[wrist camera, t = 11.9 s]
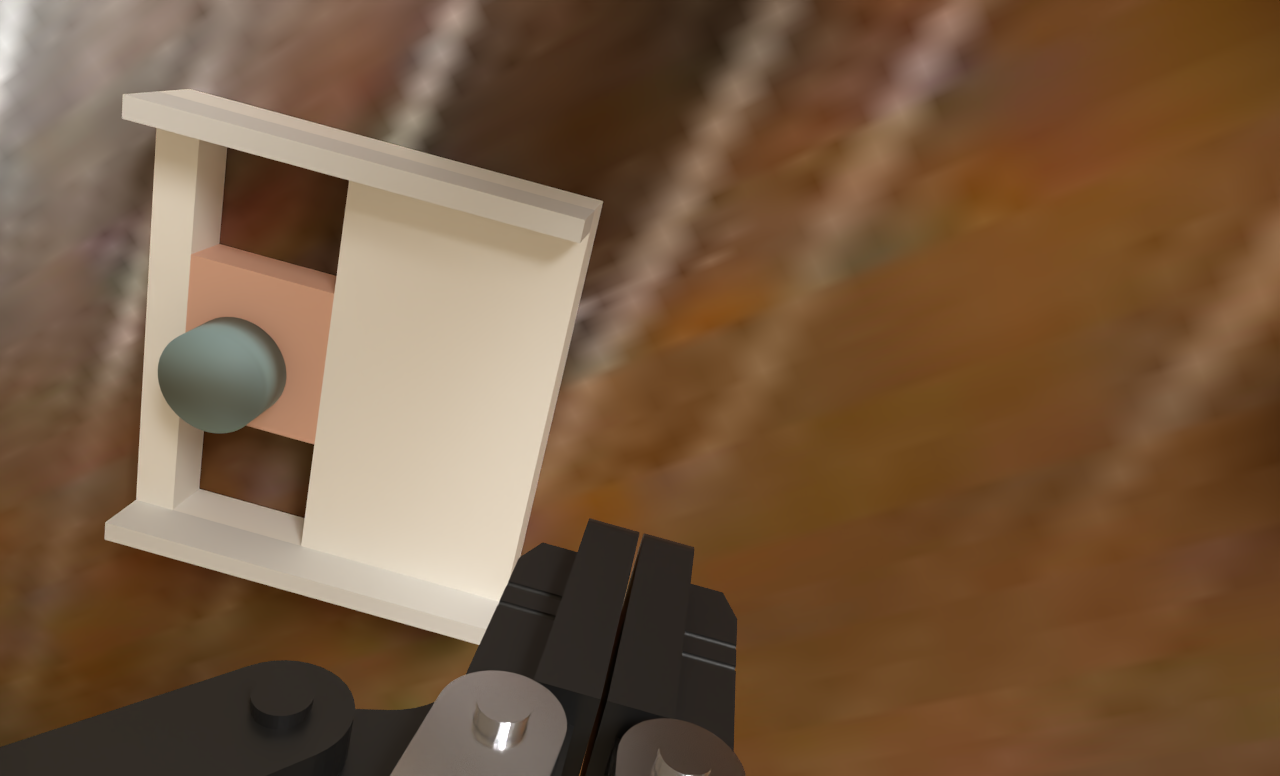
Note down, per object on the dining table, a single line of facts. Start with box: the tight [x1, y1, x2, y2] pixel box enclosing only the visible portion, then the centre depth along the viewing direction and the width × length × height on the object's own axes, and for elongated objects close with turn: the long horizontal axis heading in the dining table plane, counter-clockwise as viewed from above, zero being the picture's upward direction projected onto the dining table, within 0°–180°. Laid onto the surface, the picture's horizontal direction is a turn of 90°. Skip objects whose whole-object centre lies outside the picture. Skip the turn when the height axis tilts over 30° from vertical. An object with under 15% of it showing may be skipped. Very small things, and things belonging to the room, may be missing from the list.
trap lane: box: [105, 89, 603, 645], centre depth 45 cm, size 22×20×5 cm
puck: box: [158, 317, 286, 433], centre depth 44 cm, size 5×5×2 cm
